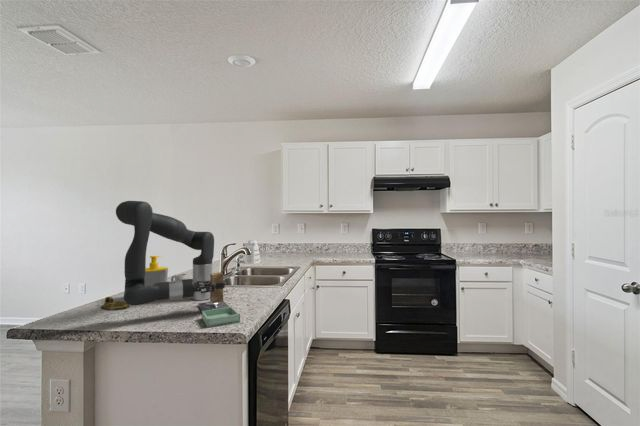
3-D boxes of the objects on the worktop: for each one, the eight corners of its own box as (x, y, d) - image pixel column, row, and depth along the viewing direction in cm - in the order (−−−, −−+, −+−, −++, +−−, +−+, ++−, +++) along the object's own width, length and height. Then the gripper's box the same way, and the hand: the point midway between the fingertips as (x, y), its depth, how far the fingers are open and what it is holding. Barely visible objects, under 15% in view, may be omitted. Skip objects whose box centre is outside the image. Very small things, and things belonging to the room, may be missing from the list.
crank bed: (204, 314, 131) (204, 295, 131) (198, 305, 145) (198, 288, 145) (231, 310, 137) (231, 292, 137) (222, 302, 151) (222, 285, 151)
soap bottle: (170, 298, 158) (170, 256, 158) (140, 302, 150) (140, 258, 151) (165, 293, 168) (166, 253, 169) (137, 297, 161) (137, 255, 161)
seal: (136, 309, 145) (114, 305, 151) (137, 298, 145) (115, 295, 151) (116, 312, 136) (93, 308, 142) (117, 301, 137) (95, 297, 143)
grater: (254, 263, 279) (254, 241, 279) (244, 263, 283) (244, 240, 283) (260, 262, 289) (260, 240, 289) (250, 261, 293) (250, 240, 293)
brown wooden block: (212, 303, 135) (212, 275, 135) (210, 300, 139) (210, 273, 139) (223, 301, 137) (223, 274, 137) (220, 299, 141) (220, 272, 141)
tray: (207, 327, 116) (207, 319, 116) (201, 318, 126) (201, 311, 126) (240, 322, 122) (240, 314, 122) (232, 314, 132) (232, 306, 132)
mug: (189, 285, 191) (189, 274, 191) (182, 287, 184) (182, 276, 184) (175, 284, 193) (175, 273, 193) (167, 286, 186) (167, 275, 186)
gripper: (182, 283, 125) (227, 278, 133) (178, 277, 137) (219, 273, 146) (183, 302, 125) (227, 296, 133) (178, 294, 137) (219, 289, 145)
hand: (222, 284), depth 139 cm, fingers closed on brown wooden block, 4 cm apart
